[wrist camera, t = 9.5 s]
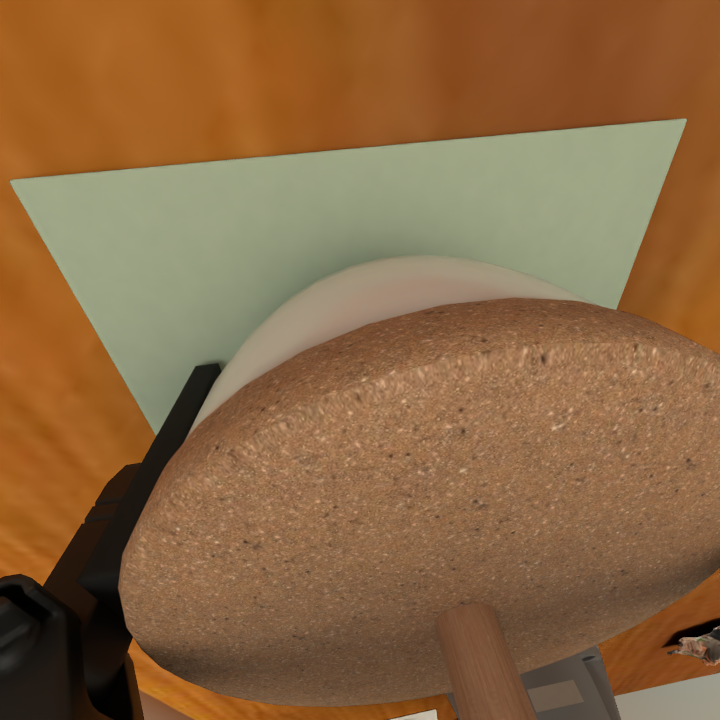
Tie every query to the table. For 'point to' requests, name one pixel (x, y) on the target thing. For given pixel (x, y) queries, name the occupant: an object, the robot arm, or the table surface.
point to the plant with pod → (702, 647)
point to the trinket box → (428, 492)
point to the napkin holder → (420, 716)
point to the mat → (334, 231)
